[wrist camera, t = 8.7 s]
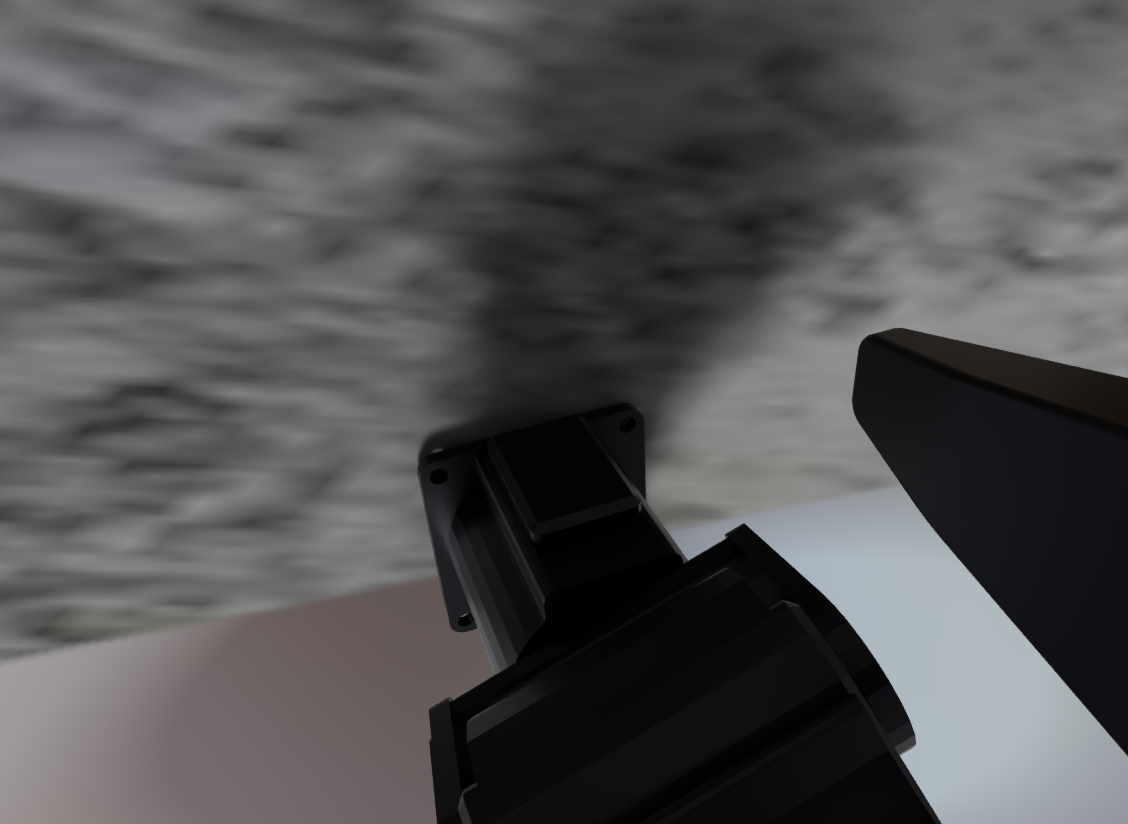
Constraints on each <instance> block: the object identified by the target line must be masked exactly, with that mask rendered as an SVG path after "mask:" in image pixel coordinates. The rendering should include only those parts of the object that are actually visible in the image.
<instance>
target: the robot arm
mask: <svg viewBox="0 0 1128 824" xmlns="http://www.w3.org/2000/svg"><path fill="white" fill-rule="evenodd" d="M852 404H853V410H854V414H855V416H856V418H857V420H858V422H859V424H860V425H861V427H862V428H863V430H864V431H865V433H866V434H867V436H868V437H869V438H870V440H871V441H872V443H873V444H874V446H875V447H876V449H877V450H878V451H879V453H880V454H881V456H882V457H883V459H884V460H885V462H886V463H887V465H888V466H889V467H890V469H891V470H892V472H893V473H894V475H895V476H896V478H897V479H898V480H899V482H900V483H901V485H902V486H903V488H904V489H905V491H906V492H907V493H908V495H909V496H910V498H911V499H912V501H913V502H914V504H915V505H916V507H917V508H918V509H919V511H920V512H921V513H922V515H923V516H924V517H925V519H926V520H927V522H928V523H929V524H930V525H931V527H932V528H933V529H934V530H935V532H936V533H937V534H938V535H939V536H940V538H941V539H942V540H943V541H944V542H945V544H946V545H947V546H948V547H949V548H950V549H951V551H952V552H953V553H954V554H955V555H956V556H957V558H958V559H959V560H960V561H961V562H962V563H963V564H964V566H965V567H966V568H967V569H968V570H969V572H970V573H971V574H972V575H973V576H974V577H975V579H976V580H977V581H978V582H979V583H980V584H981V586H982V587H983V588H984V589H985V590H986V591H987V593H988V594H989V595H990V596H991V597H992V598H993V600H994V601H995V602H996V603H997V604H998V605H999V607H1000V608H1001V609H1002V610H1003V611H1004V612H1005V614H1006V615H1007V616H1008V617H1009V618H1010V619H1011V621H1012V622H1013V623H1014V624H1015V625H1016V626H1017V628H1018V629H1019V630H1020V631H1021V632H1022V633H1023V635H1024V636H1025V637H1026V638H1027V639H1028V640H1029V642H1030V643H1031V644H1032V645H1033V646H1034V647H1035V649H1036V650H1037V651H1038V652H1039V653H1040V654H1041V656H1042V657H1043V658H1044V659H1045V660H1046V661H1047V662H1048V664H1049V665H1050V666H1051V667H1052V668H1053V670H1054V671H1055V672H1056V673H1057V674H1058V675H1059V677H1060V678H1061V679H1062V680H1063V681H1064V682H1065V684H1066V685H1067V686H1068V687H1069V688H1070V689H1071V691H1072V692H1073V693H1074V694H1075V695H1076V696H1077V698H1078V699H1079V700H1080V701H1081V702H1082V703H1083V705H1084V706H1085V707H1086V708H1087V709H1088V710H1089V712H1090V713H1091V714H1092V715H1093V716H1094V717H1095V718H1096V720H1097V721H1098V722H1099V723H1100V724H1101V726H1102V727H1103V728H1104V729H1105V730H1106V731H1107V733H1108V734H1109V735H1110V736H1111V737H1112V738H1113V740H1114V741H1115V742H1116V743H1117V744H1118V745H1119V747H1120V748H1121V749H1122V750H1123V751H1124V752H1125V754H1126V755H1127V756H1128V378H1125V377H1121V376H1116V375H1112V374H1107V373H1103V372H1098V371H1094V370H1089V369H1085V368H1080V367H1076V366H1071V365H1067V364H1062V363H1058V362H1053V361H1049V360H1044V359H1040V358H1035V357H1031V356H1026V355H1022V354H1017V353H1013V352H1008V351H1004V350H999V349H995V348H990V347H986V346H981V345H977V344H972V343H968V342H963V341H959V340H954V339H950V338H945V337H941V336H936V335H932V334H927V333H923V332H918V331H914V330H909V329H904V328H893V329H890V330H886V331H882V332H879V333H875V334H871V335H868V336H867V337H866V338H864V339H863V341H862V342H861V344H860V346H859V350H858V358H857V365H856V373H855V380H854V388H853V396H852ZM626 418H630V419H629V421H628V422H627V423H626V424H624V425H620V423H621V422H622V421H623V420H624V419H626ZM436 469H444V471H443V472H442V473H441V474H440V475H438V476H431V475H430V474H431V473H432V472H433V471H434V470H436ZM418 478H419V483H420V488H421V493H422V497H423V502H424V507H425V512H426V517H427V522H428V527H429V532H430V537H431V542H432V547H433V551H434V556H435V561H436V566H437V571H438V576H439V581H440V586H441V590H442V596H443V600H444V605H445V610H446V615H447V618H448V621H449V624H450V626H451V628H452V629H453V630H454V631H457V632H467V631H470V630H474V629H477V628H478V630H479V633H480V635H481V638H482V640H483V643H484V646H485V648H486V651H487V654H488V656H489V659H490V661H491V664H492V667H493V669H494V672H495V675H494V676H492V677H490V678H489V679H487V680H485V681H484V682H482V683H480V684H479V685H477V686H475V687H473V688H472V689H470V690H468V691H467V692H465V693H463V694H462V695H460V696H458V697H456V698H455V699H453V700H452V699H451V698H450V697H449V698H447V699H445V700H443V701H442V702H440V703H438V704H436V705H435V706H433V707H431V708H430V709H429V718H430V728H431V739H430V741H429V744H430V755H431V765H432V775H433V785H434V795H435V806H436V816H437V824H941V822H940V820H939V819H938V817H937V815H936V814H935V812H934V811H933V809H932V807H931V806H930V804H929V802H928V801H927V799H926V798H925V796H924V795H923V793H922V791H921V789H920V788H919V786H918V785H917V783H916V781H915V780H914V778H913V777H912V775H911V773H910V772H909V770H908V768H907V767H906V765H905V764H904V762H903V760H902V759H901V757H900V755H902V754H903V753H905V752H907V751H908V750H910V749H912V748H913V747H914V746H915V745H916V739H915V733H914V730H913V728H912V725H911V722H910V720H909V718H908V715H907V713H906V711H905V709H904V707H903V705H902V703H901V701H900V699H899V697H898V696H897V694H896V692H895V690H894V688H893V687H892V685H891V683H890V681H889V680H888V678H887V677H886V675H885V674H884V672H883V670H882V669H881V667H880V665H879V664H878V663H877V661H876V659H875V658H874V657H873V655H872V654H871V652H870V651H869V649H868V648H867V646H866V645H865V643H864V642H863V641H862V639H861V638H860V637H859V635H858V634H857V633H856V631H855V630H854V629H853V627H852V626H851V625H850V623H849V622H848V621H847V620H846V619H845V617H844V616H843V615H842V614H841V613H840V612H839V610H838V609H837V608H836V607H835V606H834V605H833V604H832V603H831V602H830V601H829V600H828V599H827V598H826V597H825V596H824V595H823V594H822V593H821V592H820V591H819V590H818V589H817V588H816V587H814V586H813V585H812V584H811V583H810V582H809V581H808V580H807V579H806V578H804V577H803V576H802V575H801V574H800V573H799V572H798V571H797V570H796V569H795V568H793V567H792V566H791V565H790V564H789V563H788V562H787V561H786V560H785V559H783V558H782V557H781V556H780V555H779V554H778V553H777V552H776V551H774V550H773V549H772V548H771V547H770V546H769V545H768V544H767V543H766V542H764V541H763V540H762V539H761V538H760V537H759V536H758V535H757V534H755V533H754V532H753V531H752V530H751V529H750V528H749V527H748V526H746V524H744V523H743V524H742V525H740V526H738V527H737V528H735V529H733V530H731V531H730V532H728V533H726V534H725V537H726V539H724V540H722V541H721V542H719V543H717V544H716V545H714V546H712V547H711V548H709V549H708V550H706V551H704V552H702V553H700V554H699V555H697V556H695V557H694V558H692V559H690V560H689V561H688V560H687V559H686V557H685V556H684V554H683V553H682V551H681V550H680V549H679V547H678V546H677V544H676V543H675V542H674V540H673V539H672V537H671V536H670V535H669V533H668V532H667V530H666V529H665V528H664V526H663V525H662V523H661V522H660V520H659V519H658V518H657V516H656V515H655V513H654V512H653V511H652V509H651V508H650V506H649V505H648V504H647V502H646V489H645V449H644V420H643V416H642V414H641V413H640V412H639V411H638V409H637V408H636V407H635V406H634V405H632V404H629V403H621V404H617V405H614V406H610V407H606V408H602V409H599V410H595V411H591V412H587V413H584V414H580V415H571V416H567V417H564V418H560V419H556V420H552V421H549V422H545V423H541V424H537V425H534V426H530V427H526V428H522V429H518V430H515V431H511V432H507V433H503V434H500V435H496V436H494V437H493V438H490V439H486V440H482V441H478V442H474V443H471V444H467V445H463V446H459V447H456V448H452V449H448V450H444V451H441V452H437V453H433V454H431V455H428V456H426V457H425V458H424V459H423V460H422V461H421V462H420V464H419V466H418ZM467 613H469V614H468V615H466V616H464V617H460V616H462V615H463V614H467Z"/></svg>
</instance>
